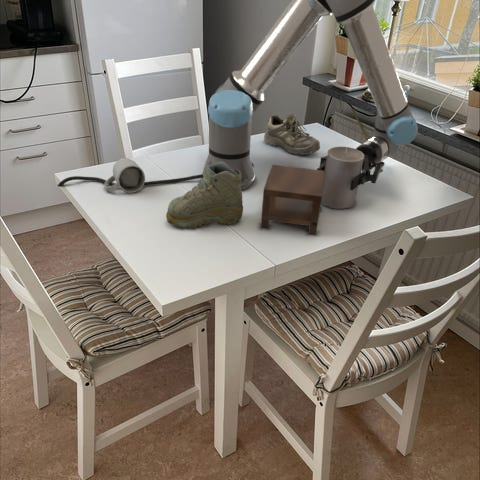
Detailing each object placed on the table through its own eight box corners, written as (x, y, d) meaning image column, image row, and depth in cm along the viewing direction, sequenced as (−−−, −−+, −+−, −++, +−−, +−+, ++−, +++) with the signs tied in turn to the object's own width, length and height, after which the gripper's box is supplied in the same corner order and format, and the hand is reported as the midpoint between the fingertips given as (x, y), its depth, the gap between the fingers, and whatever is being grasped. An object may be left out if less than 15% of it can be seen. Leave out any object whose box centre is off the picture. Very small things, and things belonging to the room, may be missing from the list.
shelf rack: (260, 227, 128) (263, 189, 121) (269, 201, 140) (272, 164, 133) (315, 235, 127) (322, 196, 120) (319, 207, 138) (325, 170, 131)
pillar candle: (326, 190, 146) (334, 138, 136) (358, 198, 143) (370, 146, 133) (314, 204, 139) (323, 150, 130) (349, 213, 136) (360, 159, 127)
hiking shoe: (308, 155, 160) (319, 116, 157) (254, 145, 170) (264, 108, 168) (320, 162, 167) (331, 125, 165) (268, 151, 178) (278, 116, 176)
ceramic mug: (137, 178, 147) (134, 152, 142) (146, 190, 141) (144, 164, 136) (101, 185, 143) (97, 158, 138) (109, 197, 138) (105, 170, 133)
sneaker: (170, 206, 134) (168, 153, 124) (242, 211, 135) (246, 159, 124) (164, 230, 127) (161, 176, 116) (241, 236, 127) (245, 182, 116)
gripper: (403, 177, 145) (370, 205, 131) (334, 156, 155) (296, 180, 140) (409, 151, 140) (376, 178, 126) (338, 131, 150) (299, 154, 136)
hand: (334, 179), depth 133 cm, fingers closed on pillar candle, 10 cm apart
